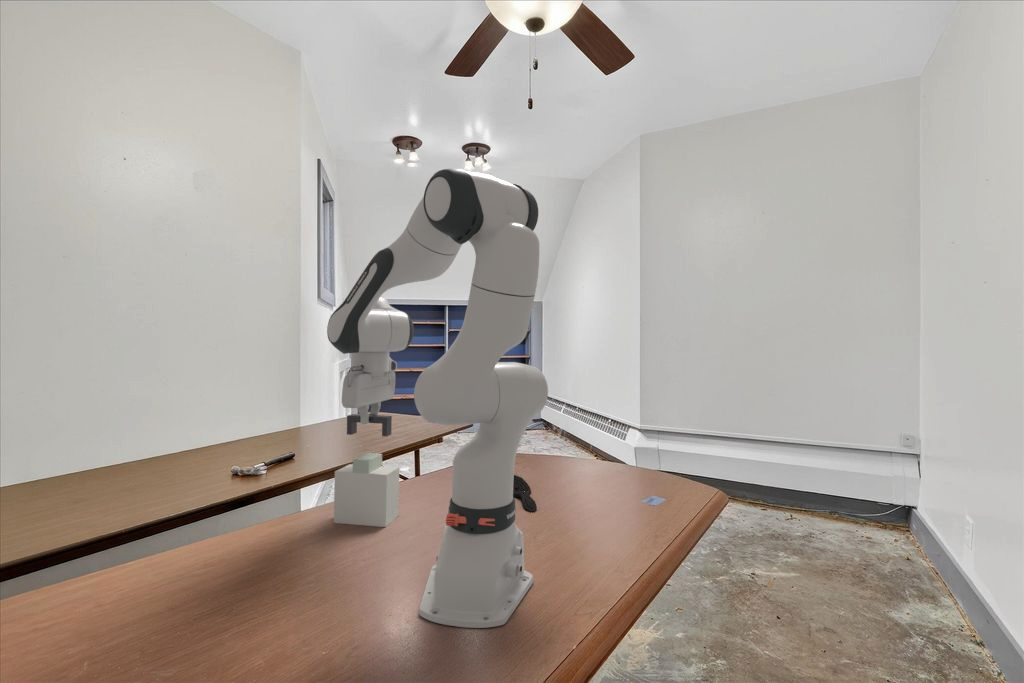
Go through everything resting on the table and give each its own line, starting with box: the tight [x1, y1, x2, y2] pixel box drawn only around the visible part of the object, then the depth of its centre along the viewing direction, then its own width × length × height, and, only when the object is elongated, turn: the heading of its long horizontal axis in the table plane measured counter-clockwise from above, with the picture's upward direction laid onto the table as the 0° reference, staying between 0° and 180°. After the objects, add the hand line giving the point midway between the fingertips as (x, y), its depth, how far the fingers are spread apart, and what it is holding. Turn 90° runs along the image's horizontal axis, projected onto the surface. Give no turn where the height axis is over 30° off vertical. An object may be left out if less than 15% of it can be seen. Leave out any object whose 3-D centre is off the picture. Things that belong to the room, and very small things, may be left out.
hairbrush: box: [513, 472, 537, 513], centre depth 131 cm, size 8×4×25 cm
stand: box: [333, 452, 400, 528], centre depth 113 cm, size 13×7×15 cm, turn 80°
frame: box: [346, 413, 393, 438], centre depth 113 cm, size 10×2×4 cm, turn 80°
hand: (369, 422), depth 113 cm, fingers closed on frame, 2 cm apart
